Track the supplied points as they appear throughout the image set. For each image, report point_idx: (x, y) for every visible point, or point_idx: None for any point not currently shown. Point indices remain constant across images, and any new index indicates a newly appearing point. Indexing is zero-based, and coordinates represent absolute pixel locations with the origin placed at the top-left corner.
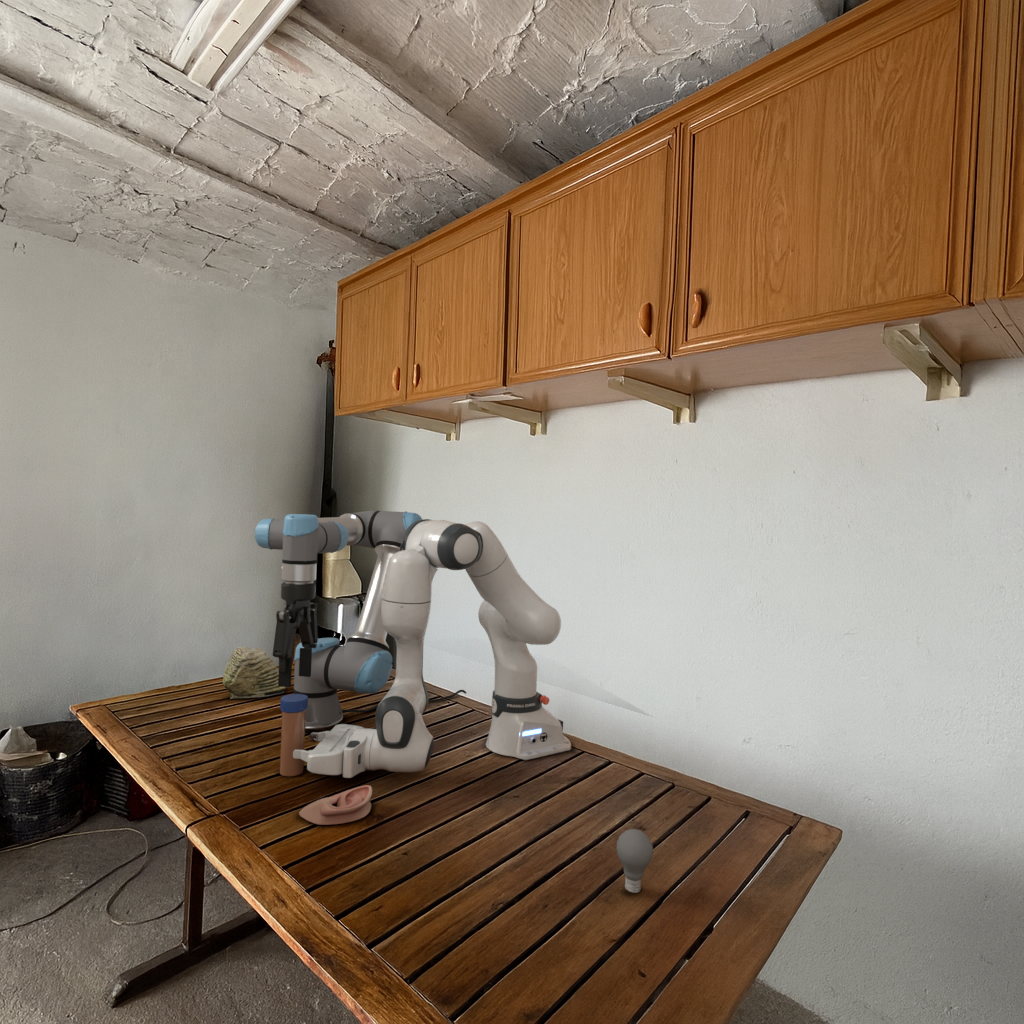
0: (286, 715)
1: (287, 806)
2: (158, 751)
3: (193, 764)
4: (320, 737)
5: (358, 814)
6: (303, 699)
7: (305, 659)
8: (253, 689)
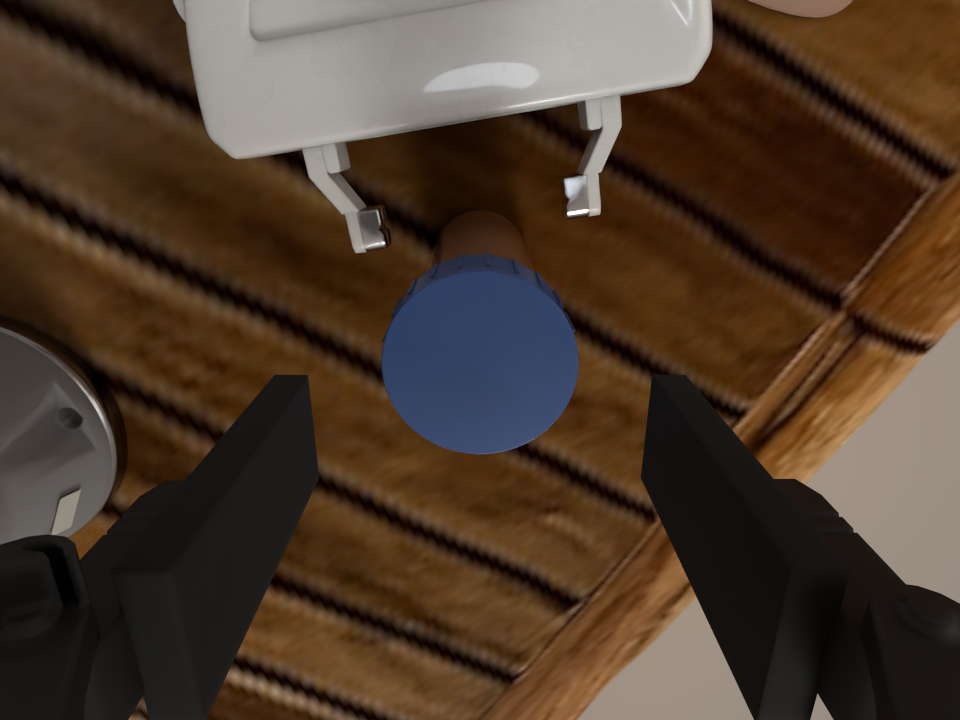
0: None
1: (765, 104)
2: (472, 717)
3: (525, 586)
4: (352, 196)
5: None
6: (494, 284)
7: (253, 524)
8: None
